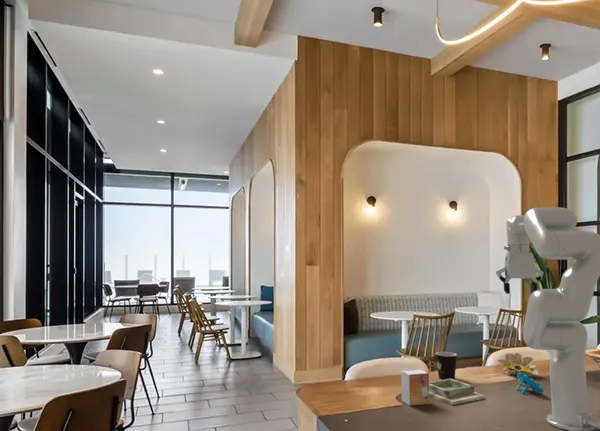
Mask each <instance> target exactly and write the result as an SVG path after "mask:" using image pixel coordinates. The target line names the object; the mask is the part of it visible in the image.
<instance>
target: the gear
mask: <svg viewBox="0 0 600 431" xmlns="http://www.w3.org/2000/svg"><path fill="white" fill-rule="evenodd" d="M516 376H517V384H518V385H517V387H516V388H515V390H516V391H518V390H519V389H520V388H521V387H523V389H522V391H521V394H523V395H525V394H526V392H527V391H528V390H529V389H531V390H532V391H533V392H537V393H538V394H543V393H544V389H545V388H543V387H542V386H541V384H540V383H539V382H535V379H534V378H532V377H530V376H527V375H526V374H524V373H523V374H522V373H518V374H516Z"/></svg>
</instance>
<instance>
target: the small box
mask: <svg viewBox="0 0 600 431" xmlns="http://www.w3.org/2000/svg"><path fill="white" fill-rule="evenodd" d="M400 371H401V375H400V376H401V402H403V403H404V404H406V405H408V406H418V405H419V406H420V405H430V397H429V382H430V373H429V372H427V371H425V370H422V369H415V370H400Z"/></svg>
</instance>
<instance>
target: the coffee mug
mask: <svg viewBox="0 0 600 431" xmlns="http://www.w3.org/2000/svg"><path fill="white" fill-rule="evenodd" d="M434 360H435V363H436V367H437V374H438V375H437V376H438V378H439V379H440V380H444V379H453V380H456V379H455V378H456V368H457V353H455V352H451V351H437V352H435V355H434Z"/></svg>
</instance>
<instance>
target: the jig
mask: <svg viewBox="0 0 600 431" xmlns="http://www.w3.org/2000/svg"><path fill="white" fill-rule="evenodd" d="M429 398H432V399H435V400H437V401H439V402H442V403H444V404H448V405H450V406H455V405H460V404H465V403H470V402H474V401H480V400H485V395H484V394H481V393H479V392H476V391H475V385H472V384H469V383H465V382H462V381H460V380H456V379H454V380H453V379H444V380H442V379H440V380H433V381H429Z"/></svg>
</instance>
